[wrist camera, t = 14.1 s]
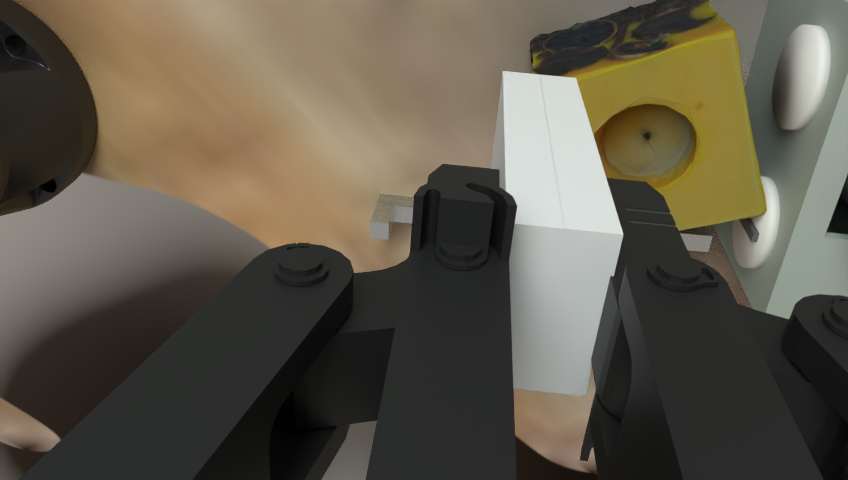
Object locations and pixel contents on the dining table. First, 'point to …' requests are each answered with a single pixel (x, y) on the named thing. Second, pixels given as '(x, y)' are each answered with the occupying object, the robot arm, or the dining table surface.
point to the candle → (665, 105)
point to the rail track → (402, 211)
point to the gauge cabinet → (796, 159)
